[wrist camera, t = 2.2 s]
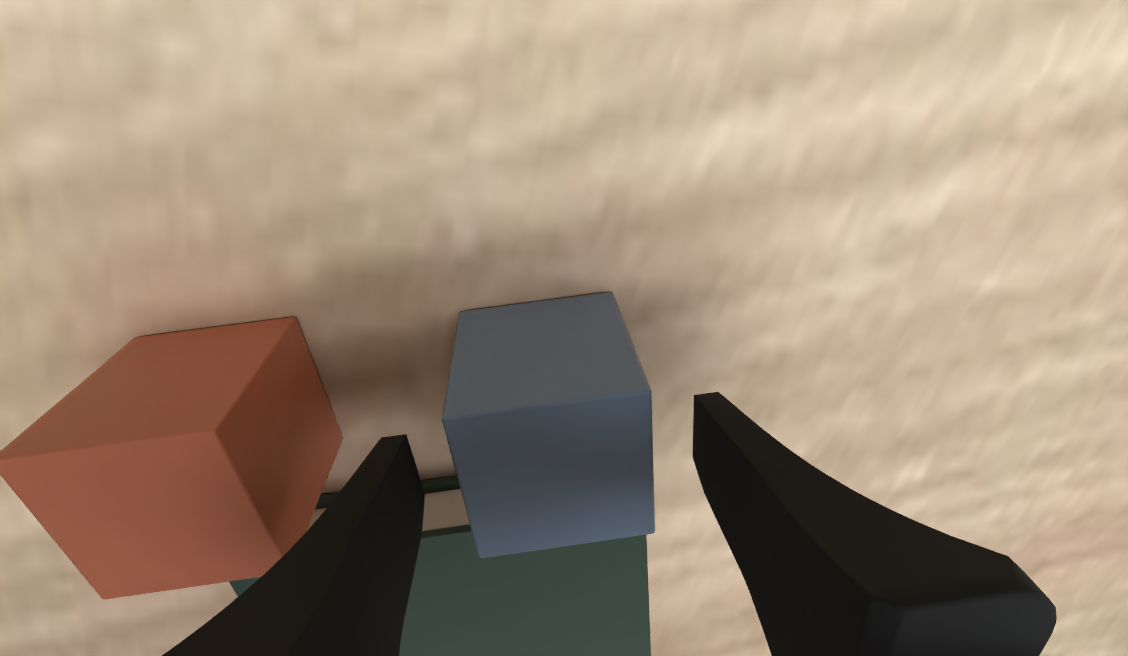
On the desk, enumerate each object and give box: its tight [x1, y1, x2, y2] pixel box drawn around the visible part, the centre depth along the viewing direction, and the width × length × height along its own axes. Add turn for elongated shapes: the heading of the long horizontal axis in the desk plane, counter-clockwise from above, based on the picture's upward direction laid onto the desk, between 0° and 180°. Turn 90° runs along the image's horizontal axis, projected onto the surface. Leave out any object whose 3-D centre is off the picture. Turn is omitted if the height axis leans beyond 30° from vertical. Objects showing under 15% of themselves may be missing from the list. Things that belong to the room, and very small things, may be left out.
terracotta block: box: [0, 317, 343, 599], centre depth 14 cm, size 4×4×5 cm
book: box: [229, 476, 651, 656], centre depth 21 cm, size 13×15×2 cm
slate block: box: [442, 292, 655, 558], centre depth 15 cm, size 4×4×5 cm
